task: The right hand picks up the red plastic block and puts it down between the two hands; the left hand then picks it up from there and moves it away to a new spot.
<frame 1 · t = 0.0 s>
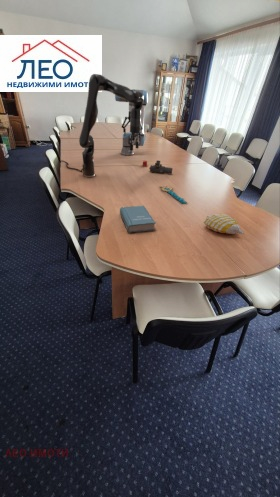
left hand: (134, 149, 167), 29 cm above the table, tool pointing down, fingers open, 8 cm apart
right hand: (131, 136, 214), 28 cm above the table, tool pointing down, fingers open, 13 cm apart
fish: (222, 230, 136), on the table
laser sight: (160, 172, 219), on the table
block: (144, 165, 235), on the table
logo: (173, 194, 176), on the table
book: (136, 222, 137), on the table
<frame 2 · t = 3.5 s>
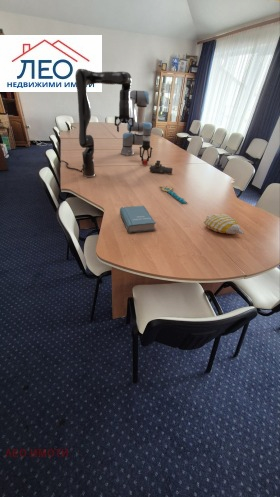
left hand: (124, 132, 168), 39 cm above the table, tool pointing down, fingers open, 8 cm apart
right hand: (144, 164, 234), 2 cm above the table, tool pointing down, fingers closed on block, 4 cm apart
block: (144, 164, 235), point 1 cm above the table, touching right hand
everything else where it was.
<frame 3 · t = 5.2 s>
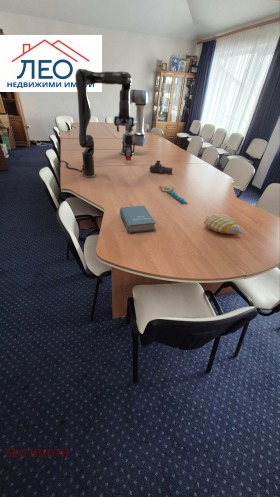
left hand: (124, 132, 168), 39 cm above the table, tool pointing down, fingers open, 8 cm apart
right hand: (128, 159, 231), 5 cm above the table, tool pointing down, fingers closed on block, 4 cm apart
block: (128, 159, 231), point 5 cm above the table, touching right hand
everything else where it was.
when the right hand's fingers open (1 cm above the table, at t = 7.0 s): block stays where it is, on the table.
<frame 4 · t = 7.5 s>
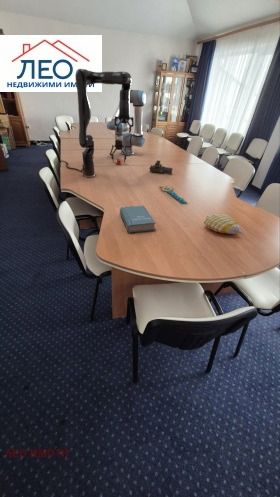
left hand: (124, 132, 168), 39 cm above the table, tool pointing down, fingers open, 8 cm apart
right hand: (118, 162, 232), 2 cm above the table, tool pointing down, fingers open, 11 cm apart
block: (118, 164, 234), on the table
everything else where it was.
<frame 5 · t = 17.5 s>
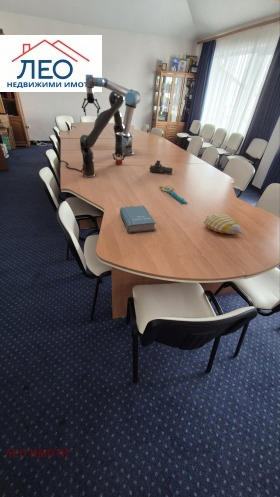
left hand: (118, 163, 233), 0 cm above the table, tool pointing down, fingers closed on block, 4 cm apart
right hand: (91, 116, 247), 38 cm above the table, tool pointing down, fingers open, 13 cm apart
block: (118, 164, 234), on the table, touching left hand
everything else where it was.
when the left hand's fingers open (1 cm above the table, at t = 24.3 s): block stays where it is, on the table.
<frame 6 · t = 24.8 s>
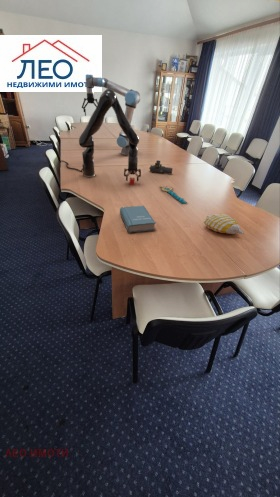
left hand: (132, 181, 188), 2 cm above the table, tool pointing down, fingers open, 8 cm apart
right hand: (91, 116, 247), 38 cm above the table, tool pointing down, fingers open, 13 cm apart
block: (131, 183, 190), on the table
everything else where it was.
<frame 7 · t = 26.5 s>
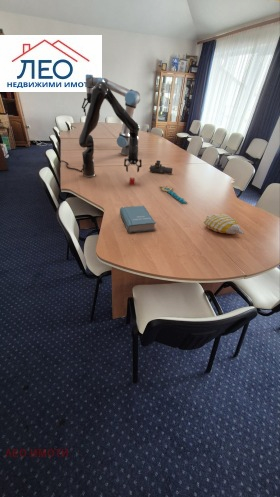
left hand: (132, 171, 183), 10 cm above the table, tool pointing down, fingers open, 8 cm apart
right hand: (91, 116, 247), 38 cm above the table, tool pointing down, fingers open, 13 cm apart
nothing on the table moved.
at the end: block inside the target area (0.3 cm from its centre), on the table; block tilted 0°; the two hands never held the block at the same time; the left hand is holding nothing; the right hand is holding nothing; block at rest at the end (0.0 cm/s) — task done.
